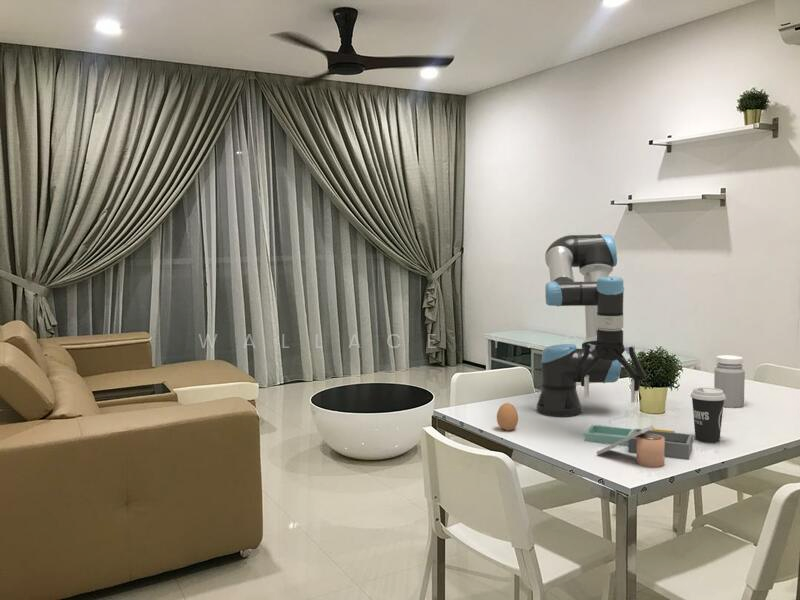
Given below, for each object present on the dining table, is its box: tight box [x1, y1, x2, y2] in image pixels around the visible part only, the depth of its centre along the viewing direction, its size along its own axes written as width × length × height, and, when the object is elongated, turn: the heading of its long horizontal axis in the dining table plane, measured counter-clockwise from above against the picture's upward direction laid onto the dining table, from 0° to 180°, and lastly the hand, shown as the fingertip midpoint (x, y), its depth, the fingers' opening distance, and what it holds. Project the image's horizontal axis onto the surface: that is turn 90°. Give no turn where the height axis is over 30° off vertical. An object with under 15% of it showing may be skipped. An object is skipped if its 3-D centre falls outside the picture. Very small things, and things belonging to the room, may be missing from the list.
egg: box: [496, 402, 519, 431], centre depth 211 cm, size 7×7×9 cm
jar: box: [713, 354, 746, 409], centre depth 236 cm, size 10×10×18 cm
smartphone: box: [596, 425, 654, 455], centre depth 182 cm, size 7×16×1 cm
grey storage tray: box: [628, 427, 694, 460], centre depth 188 cm, size 16×11×5 cm
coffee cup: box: [689, 386, 726, 444], centre depth 196 cm, size 10×10×15 cm
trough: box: [583, 424, 635, 448], centre depth 199 cm, size 13×11×2 cm
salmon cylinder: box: [635, 434, 665, 468], centre depth 177 cm, size 7×7×7 cm
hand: (609, 399), depth 199 cm, fingers open, 13 cm apart
